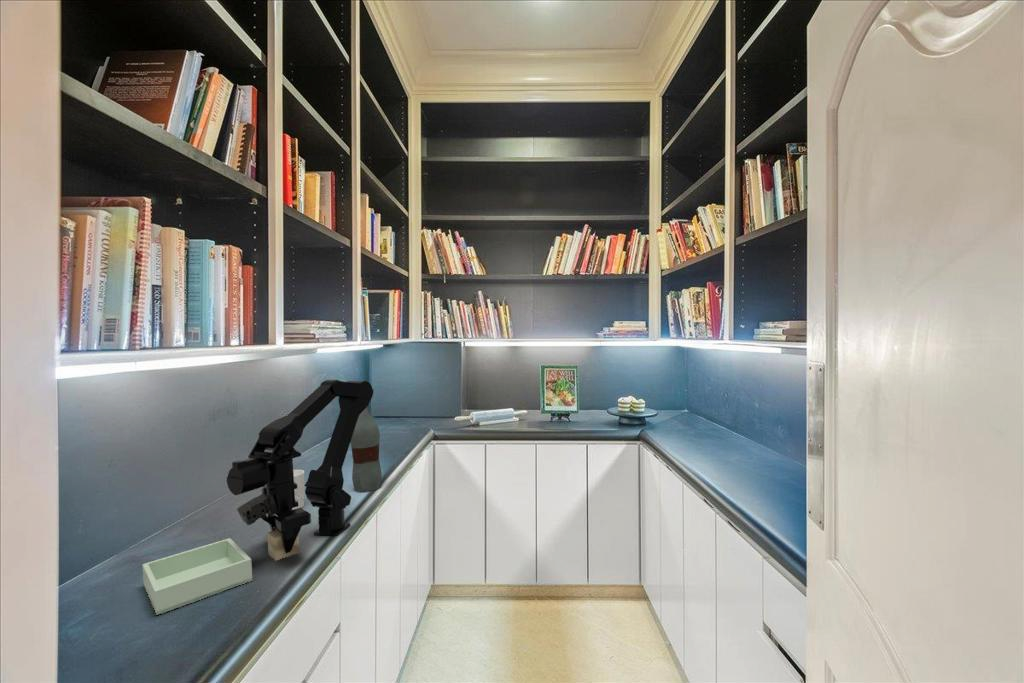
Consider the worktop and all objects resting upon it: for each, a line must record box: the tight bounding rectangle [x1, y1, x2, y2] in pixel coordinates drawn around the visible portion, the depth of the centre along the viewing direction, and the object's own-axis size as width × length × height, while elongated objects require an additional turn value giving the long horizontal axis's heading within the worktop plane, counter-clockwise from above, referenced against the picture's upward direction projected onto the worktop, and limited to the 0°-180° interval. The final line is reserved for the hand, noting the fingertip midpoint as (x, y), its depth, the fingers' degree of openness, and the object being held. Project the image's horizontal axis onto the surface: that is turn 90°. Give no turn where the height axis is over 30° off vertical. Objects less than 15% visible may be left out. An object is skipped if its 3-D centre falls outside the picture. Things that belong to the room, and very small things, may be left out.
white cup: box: [292, 469, 306, 510], centre depth 137 cm, size 8×8×10 cm
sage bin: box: [142, 537, 253, 616], centre depth 95 cm, size 16×16×4 cm
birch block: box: [266, 530, 300, 562], centre depth 107 cm, size 5×5×5 cm
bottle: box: [350, 407, 383, 493], centre depth 152 cm, size 9×9×30 cm
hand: (283, 549), depth 107 cm, fingers closed on birch block, 5 cm apart
